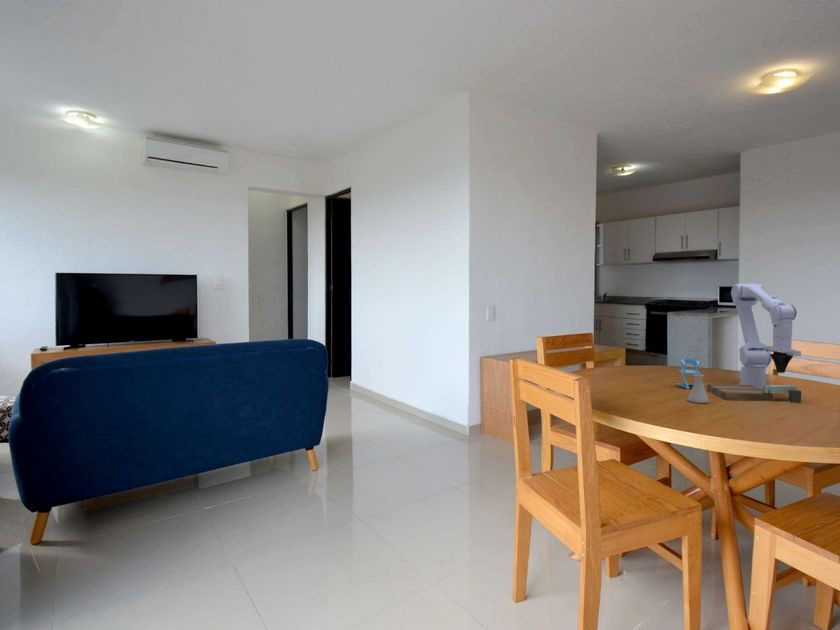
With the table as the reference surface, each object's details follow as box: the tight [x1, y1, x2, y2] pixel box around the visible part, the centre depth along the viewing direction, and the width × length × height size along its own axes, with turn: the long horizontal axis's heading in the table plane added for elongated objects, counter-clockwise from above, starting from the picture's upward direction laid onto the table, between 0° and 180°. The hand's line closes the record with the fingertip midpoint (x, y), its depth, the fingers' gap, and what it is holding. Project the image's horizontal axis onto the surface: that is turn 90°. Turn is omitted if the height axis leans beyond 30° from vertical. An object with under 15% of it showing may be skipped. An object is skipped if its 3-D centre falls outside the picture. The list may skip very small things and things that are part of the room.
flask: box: [687, 373, 710, 404], centre depth 177 cm, size 7×7×10 cm
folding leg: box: [761, 384, 798, 394], centre depth 178 cm, size 11×3×2 cm, turn 87°
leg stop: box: [788, 389, 802, 403], centre depth 174 cm, size 2×3×4 cm, turn 82°
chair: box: [676, 358, 701, 390], centre depth 200 cm, size 8×8×12 cm
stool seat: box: [707, 383, 775, 402], centre depth 186 cm, size 16×16×2 cm
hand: (780, 372), depth 182 cm, fingers closed
